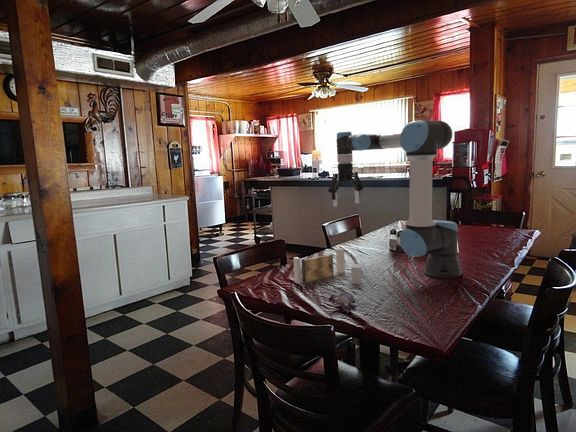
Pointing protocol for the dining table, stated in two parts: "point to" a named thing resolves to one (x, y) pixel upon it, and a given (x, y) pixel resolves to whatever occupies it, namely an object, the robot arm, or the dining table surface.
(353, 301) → the toy
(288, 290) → the dining table surface
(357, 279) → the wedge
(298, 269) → the door frame
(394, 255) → the dining table surface
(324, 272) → the door
